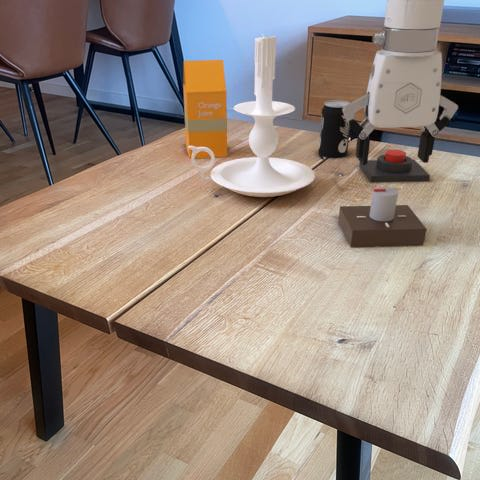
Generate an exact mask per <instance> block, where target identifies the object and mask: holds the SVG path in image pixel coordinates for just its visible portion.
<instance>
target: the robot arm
mask: <svg viewBox="0 0 480 480" xmlns="http://www.w3.org/2000/svg"><path fill="white" fill-rule="evenodd" d="M444 5H445V0H386V7H385V17H384V26H382V27H381V31H379V32H373V34H372V44H374V45H379V46H380V50H377V51H376V53H375V55H374V60H373V63H372V67H371V70H370V74H369V79H368V84H367V88H366V94H364V95H362V96H360V97H359V98H356V99H355V100H353V101H351V102H349V104H348V105H346V106H344V107H343V108H342V111H343V114H344V116H345V118H346V121H347V123H348V125H349V126H350V130H352V131H353V132H354V133H355V135H356V147H355V148H356V149H355V158H356V159H358V162H359V163H360V162H361V164H362V165H366V164H367V163H368V160H369V153H370V152H369V151H370V145H371V140H370V138H369V135H370V134H371V133H372V132H373V131H374V130H376V128H378V129H379V128H380V129H393V128H394V129H395V128H396V129H397V128H423V129H424V131H422V132H421V134H420V138H419V144H418V150H417V158H418V159H419V160H420V161H421V162H422V163H423V164H427V163H429V160H430V157H431V156H432V155H433V150H434V146H435V139H436V137H438V136H439V134H440V132H441V131H442V130H444V129H445V128H446V126H448V125H449V124H450V122H451V119H452V118H453V117H454V115H455V113H456V112H457V110H459V105H458V104H456V103H455V102H454V101H451V100H450V99H448V98H447V97H445V96H444V95H441V90H442V75H443V73H442V72H443V55H442V52H441V51H438V50H437V47H438V40H439V34H440V27H441V22H442V18H443V17H442V16H443V12H444V11H443V10H444ZM439 107H442V108H443V111H442V113H441V114H440V115H439V116H438V114H439V109H440V108H439ZM363 108H364V111H363V112H364V113H363V114H364V115H363V116H364V118H363V120H362V121H361V122H360V123H358V121H357V119H356V115H355V114H356V113H357V112H359V111H360V110H362V109H363Z"/></svg>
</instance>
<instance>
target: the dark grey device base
mask: <svg viewBox="0 0 480 480" xmlns="http://www.w3.org/2000/svg"><path fill="white" fill-rule="evenodd" d="M385 156H386V153H385V154H380V155H379V156H378V157H377V159H368V163H367V164H366V165H362V164H361V162H360V161H359V164H358V167H359V169H360V171H362V173H363V174H364V175H365V177H366V178H367V180H368V181H369V182H370V183H412V182H416V183H417V182H429V181H430V178H431V177H430V176H431V174H429V172H427V170H425V169H424V168H423V167H422V165H420V164H419V163H418V162H417V160H415V159H413V158H412V157H410V156H407V155H406V157H405V162H402V163H395V162H388V161H386V160H385Z"/></svg>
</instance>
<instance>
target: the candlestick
mask: <svg viewBox="0 0 480 480" xmlns="http://www.w3.org/2000/svg"><path fill="white" fill-rule="evenodd" d="M261 35H262V37H255V38H254V59H253V61H254V89H253V90H254V91H253V95H254V96H255V100H251V101H244V102H240V103H237V104H235V105H234V106H233V110H234V111H235V112H237V113H240V114H242V115H246V116H250V117H251V118H253V120H254V124H253V127H252V129H251V131H249V135H248V145H249V147H250V150H251V151H252V152H253V154H254V155H256V156H253V157H252V156H251V157H241V158H236V159H231V160H227V161H224V162H222V163H219V164H218V165H216V166H215V167H213V166H214V165H215V160H216V157H214V154H213V152H212V151H211V150H210V149H209V148H207V147H194V146H188V148H189V149H191V150H192V151H193V153H192V157H191V159H190V160H191V164H192V166H193V167H194V168H195V169H196V170H197V171H198V172H199V175H200V178H201V179H202V180H204V181H210V182H211V181H213V182H215V184H217V185H220V186H222V187H223V188H226V189H228V190H230V191H232V192H234V193H237V194H239V195H243V196H247V197H256V198H269V197H270V198H271V197H272V198H273V197H278V196H279V197H280V196H284V195H288V194H292V193H293V192H295V191H298V190H299V189H302V188H305V187H306V186H309V185H310V184H312V183H313V182H314V180H315V179H316V173H315V172H314V170H313V169H312V168H311V167H309V166H308V165H306V164H304V163H301V162H299V161H296V160H291V159H287V158H280V157H272V156H271V155H272V154H273V153H275V151H276V149H277V147H278V144H279V135H278V132H277V130H276V128H275V126H274V119H275V118H277V117H279V116H284V115H287V114H291V113H292V112H294V111H295V110H296V107H295V105H292V104H290V103H287V102H282V101H275V100H273V86H274V84H273V82H274V80H275V79H276V55H277V35H273V36H265V35H264V34H263V33H261ZM200 151H205V152H207V153H209V154H210V156H211V158H210V163H208V164H207V165H205V166H202V165H199V164H198V163H197V162H196V158H195V155H196V154H197V153H198V152H200ZM270 156H271V157H270ZM212 168H213V169H212ZM210 169H212V170H211V171H210V176H206V175H205V173H206V172H208V171H209V170H210Z"/></svg>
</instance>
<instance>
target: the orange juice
mask: <svg viewBox="0 0 480 480" xmlns="http://www.w3.org/2000/svg"><path fill="white" fill-rule="evenodd" d="M182 78H183V79H182V80H183V81H182V82H183V83H182V87H183V88H182V89H183V105H184V106H183V108H184V109H183V110H184V112H183V113H184V124H185V125H184V126H185V127H184V128H185V147H186V151H187V154H188V155H187V156H188V158H189V159H190V160H191V157H192V153H193V151H192V150H191V149H189V148H188V146H194V147H207V148H209V149H210V150H211V151H212V152H213V154H214V157H215V158H227V157H228V117H227V116H228V111H227V110H228V109H227V107H228V106H227V103H228V102H227V101H228V100H227V99H228V98H227V86H226V75H225V66H224V59H203V60H202V59H201V60H200V59H199V60H183V77H182ZM195 159H211V156H210V154H209V153H207V152H205V151H200V152H198V153H197V154H196V155H195Z"/></svg>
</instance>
